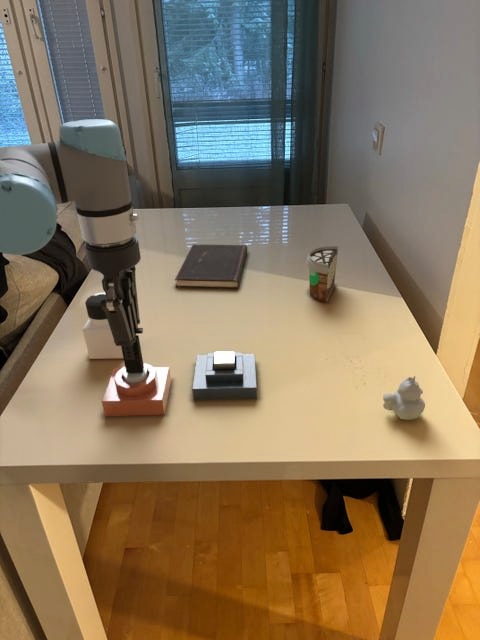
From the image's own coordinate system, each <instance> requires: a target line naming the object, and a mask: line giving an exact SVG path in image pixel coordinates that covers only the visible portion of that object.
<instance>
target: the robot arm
mask: <svg viewBox="0 0 480 640" xmlns="http://www.w3.org/2000/svg"><path fill="white" fill-rule="evenodd" d="M58 132H59V136H58V140H53V141H51V142H44V143H34V144H22V145H11V146H0V253H2V254H6V255H13V256H23V255H29V254H33V253H35V252H37V251H39V250H41V249H42V248H44V247H46V245H47V244H48V243H49V242H50V241H51V239H52V238H53V237H54V235H55V233H56V230H57V223H58V222H57V221H58V209H59V208H58V205H61V204H68V203H72V202H74V204H75V210H76V215H77V220H78V225H79V230H80V234H81V239H82V240H83V241H84V245H83V246H84V251H85V255H86V260H87V265H88V266H89V268H90V269H92V270H93V271H95V272H98V273H100V274H101V275H102V276H103V277H102V279H101V285H102V290H103V291H104V292H105V293H106V297H107V299H106V300H101V307H102V309H103V310H104V312H105V314H106V317H107V320H108V323H109V326H110V329H111V332H112V335H113V338H114V343H115V344H116V346H121V348H122V353H123V358H122V359H123V363H124V366H125V368H126V373H143V369H144V364H143V363H144V359H143V353H142V346H141V344H140V343H141V342H140V336H139V334H143V333H144V328H143V327H139V325H140V324H141V319H140V311H139V310H140V309H139V299H138V290H137V281H136V270H137V267H136V266H137V265H138V264H139V263H140V261H141V258H142V257H141V250H140V244H139V238H138V236H137V235H136V233H137V226H136V222H137V221H139V215H138V214H137V213H134V207H133V201H132V193H131V186H130V179H129V171H128V165H127V156H126V153H125V150H124V145H123V140H122V135H121V130H120V128H119V126H118V125H117V124H116V123H115V122H114V121H111V120H110V119H104V118H101V119H100V118H91V119H89V118H88V119H79V120H75V121H67V122H64V123H62V124H61V125H60V126H59V129H58Z"/></svg>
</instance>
